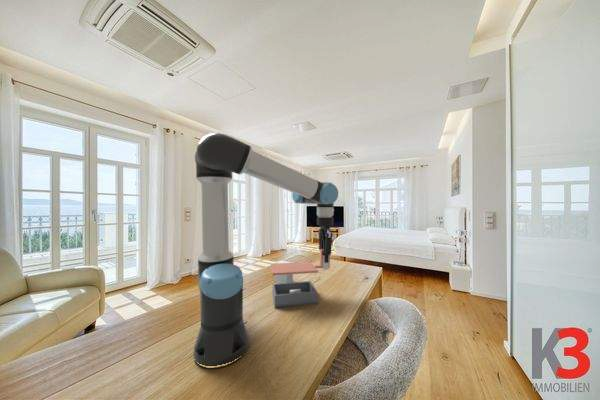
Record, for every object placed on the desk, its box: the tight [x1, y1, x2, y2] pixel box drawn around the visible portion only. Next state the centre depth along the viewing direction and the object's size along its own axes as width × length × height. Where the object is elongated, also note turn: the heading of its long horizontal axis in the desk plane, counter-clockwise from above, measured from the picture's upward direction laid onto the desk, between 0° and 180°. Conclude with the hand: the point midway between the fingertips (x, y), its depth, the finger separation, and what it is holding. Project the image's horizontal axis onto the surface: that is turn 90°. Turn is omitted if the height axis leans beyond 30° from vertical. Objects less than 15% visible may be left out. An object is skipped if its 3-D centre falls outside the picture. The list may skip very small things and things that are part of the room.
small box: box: [274, 260, 294, 284], centre depth 112 cm, size 8×6×10 cm
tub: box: [272, 280, 318, 309], centre depth 92 cm, size 18×12×5 cm, turn 102°
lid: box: [270, 249, 331, 276], centre depth 93 cm, size 26×13×8 cm, turn 102°
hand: (324, 268), depth 95 cm, fingers closed on lid, 2 cm apart
